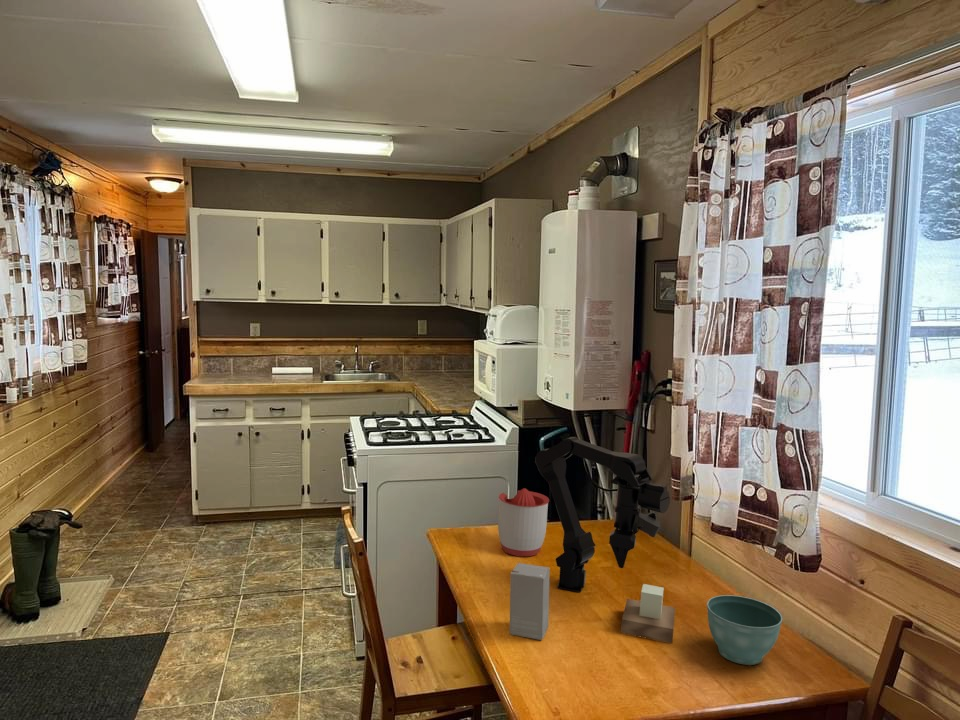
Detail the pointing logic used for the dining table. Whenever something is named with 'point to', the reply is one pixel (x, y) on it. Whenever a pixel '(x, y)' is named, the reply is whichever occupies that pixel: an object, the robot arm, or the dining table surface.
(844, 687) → the dining table surface
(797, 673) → the dining table surface
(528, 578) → the skincare box
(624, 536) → the robot arm
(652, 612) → the sage block
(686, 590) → the dining table surface
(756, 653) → the flower pot
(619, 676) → the dining table surface
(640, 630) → the walnut block
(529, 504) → the citrus juicer
